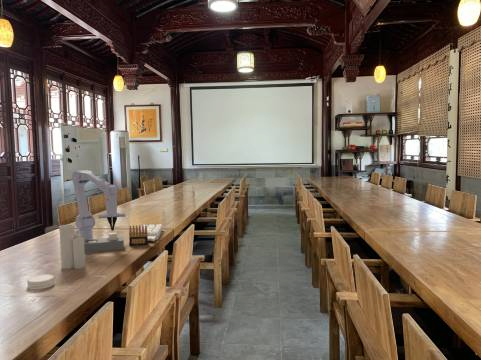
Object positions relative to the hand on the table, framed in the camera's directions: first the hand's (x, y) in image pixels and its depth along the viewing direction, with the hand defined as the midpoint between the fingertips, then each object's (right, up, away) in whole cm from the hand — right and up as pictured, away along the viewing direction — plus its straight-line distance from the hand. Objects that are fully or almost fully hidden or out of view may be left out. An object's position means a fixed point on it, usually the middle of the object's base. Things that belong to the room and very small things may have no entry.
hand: (112, 230), depth 216 cm
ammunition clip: (+13, -10, +7) cm, 18 cm away
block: (-5, -11, -1) cm, 12 cm away
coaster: (-10, -16, -58) cm, 61 cm away
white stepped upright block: (-8, -13, -33) cm, 36 cm away
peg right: (0, -6, +1) cm, 6 cm away
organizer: (+14, -9, +28) cm, 33 cm away
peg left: (-10, -11, -3) cm, 15 cm away
